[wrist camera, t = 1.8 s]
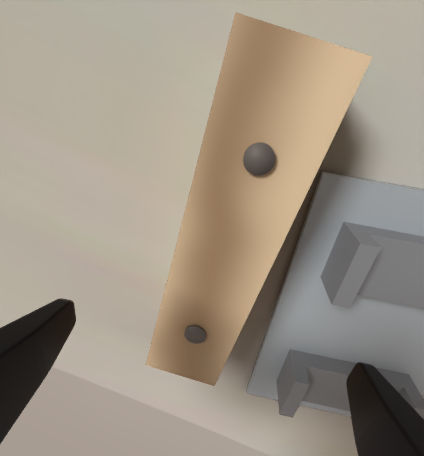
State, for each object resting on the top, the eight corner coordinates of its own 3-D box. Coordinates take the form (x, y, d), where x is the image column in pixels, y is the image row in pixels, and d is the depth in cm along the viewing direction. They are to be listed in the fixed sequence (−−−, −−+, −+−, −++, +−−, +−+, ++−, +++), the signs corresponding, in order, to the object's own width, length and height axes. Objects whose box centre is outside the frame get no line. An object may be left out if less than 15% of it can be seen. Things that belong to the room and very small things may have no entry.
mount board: (569, 215, 14) (645, 243, 11) (393, 421, 23) (412, 464, 20) (321, 171, 14) (338, 187, 12) (246, 389, 23) (246, 426, 21)
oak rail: (329, 71, 13) (375, 55, 8) (221, 324, 21) (214, 389, 16) (240, 43, 13) (235, 10, 8) (167, 308, 21) (144, 367, 16)
